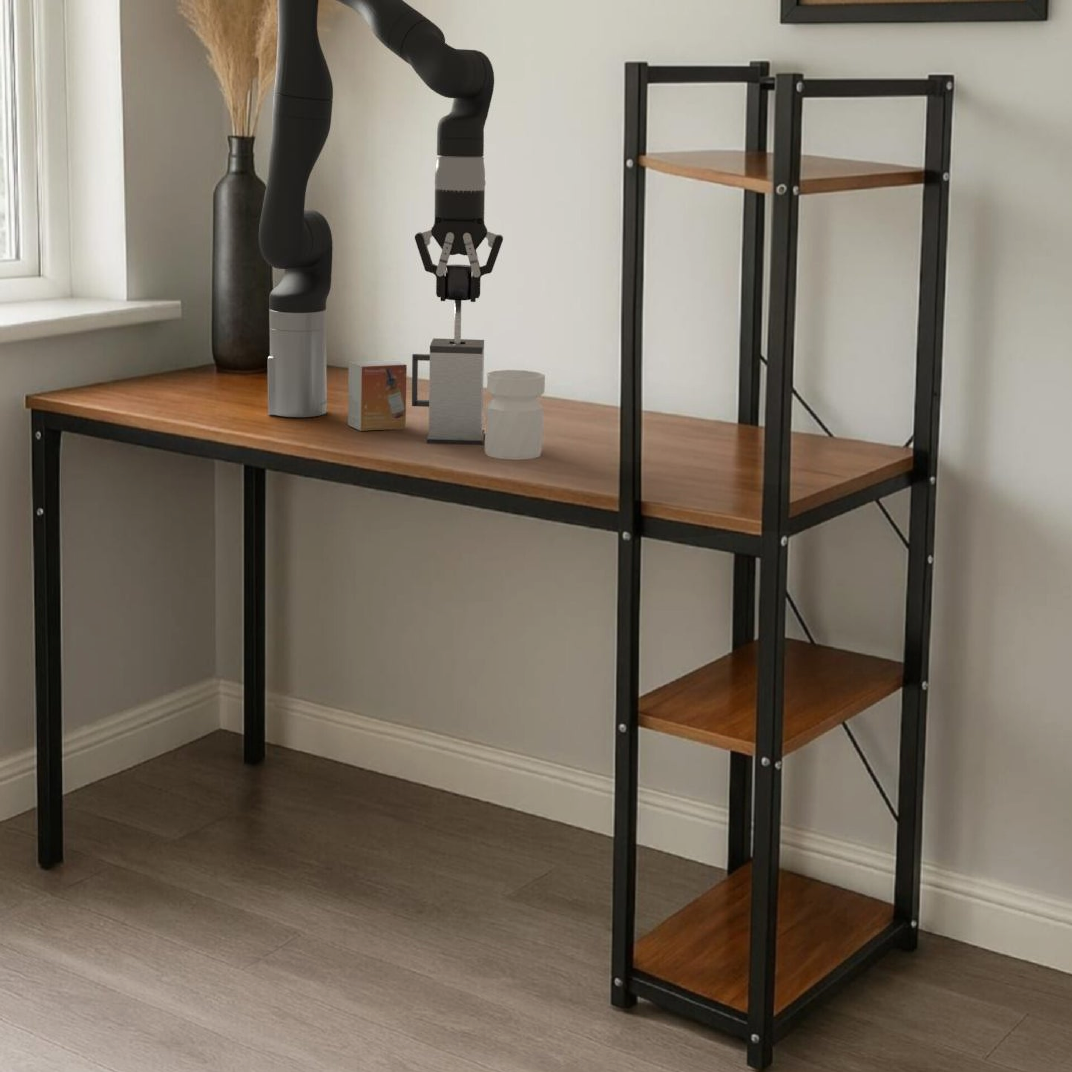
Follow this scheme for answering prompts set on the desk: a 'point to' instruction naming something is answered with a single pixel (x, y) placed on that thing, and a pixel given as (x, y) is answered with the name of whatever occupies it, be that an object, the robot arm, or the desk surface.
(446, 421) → the press carafe
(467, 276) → the plunger
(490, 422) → the white plastic jar
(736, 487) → the desk surface
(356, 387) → the small box
